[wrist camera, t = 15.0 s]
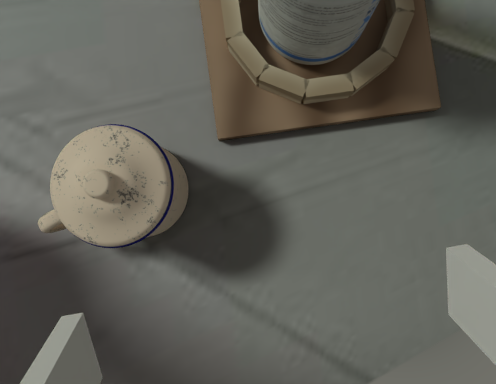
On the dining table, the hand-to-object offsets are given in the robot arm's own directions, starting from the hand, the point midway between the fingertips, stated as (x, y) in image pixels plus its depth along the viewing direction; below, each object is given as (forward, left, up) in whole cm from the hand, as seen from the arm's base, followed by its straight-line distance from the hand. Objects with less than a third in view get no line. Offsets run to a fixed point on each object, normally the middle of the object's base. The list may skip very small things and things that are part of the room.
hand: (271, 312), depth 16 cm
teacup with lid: (-12, +6, -25) cm, 28 cm away
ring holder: (+7, +20, -24) cm, 33 cm away
